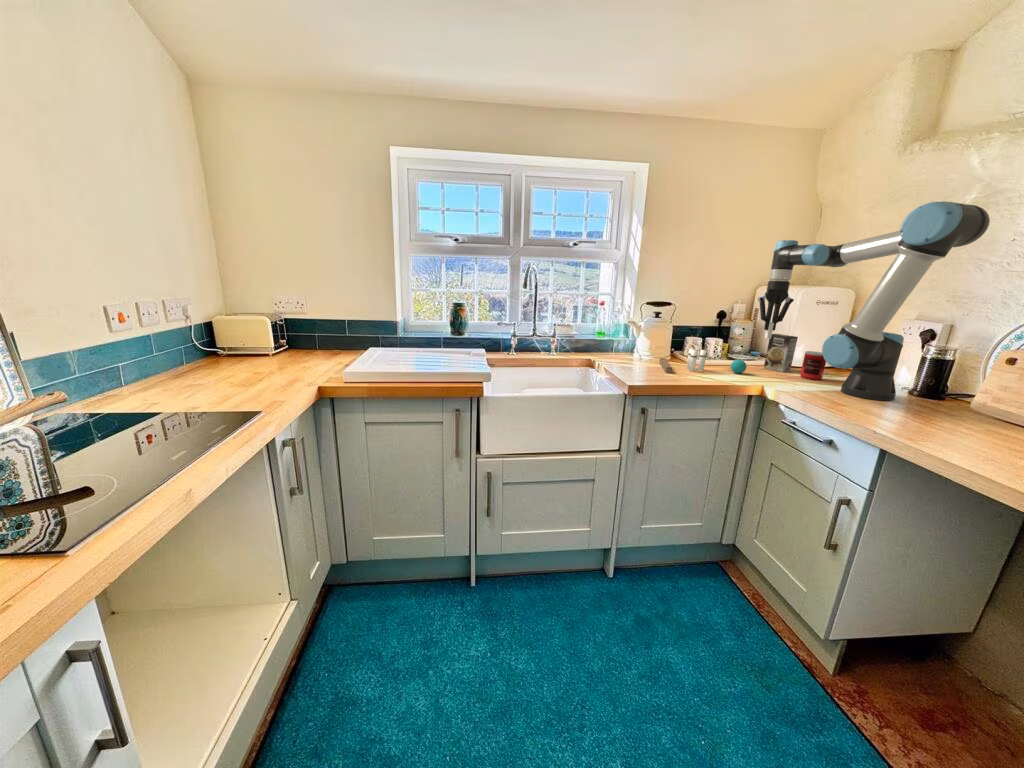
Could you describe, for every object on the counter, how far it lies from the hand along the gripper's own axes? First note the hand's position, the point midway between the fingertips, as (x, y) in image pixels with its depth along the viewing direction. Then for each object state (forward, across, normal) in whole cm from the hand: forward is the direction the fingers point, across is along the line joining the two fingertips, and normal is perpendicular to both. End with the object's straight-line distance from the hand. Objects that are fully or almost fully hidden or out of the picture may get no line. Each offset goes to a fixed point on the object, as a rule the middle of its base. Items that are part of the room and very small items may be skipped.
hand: (767, 338), depth 173 cm
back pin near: (+16, +28, +3) cm, 33 cm away
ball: (+13, +9, 0) cm, 16 cm away
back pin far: (+16, +28, -2) cm, 33 cm away
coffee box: (+16, -12, -15) cm, 25 cm away
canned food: (+16, -20, -1) cm, 25 cm away
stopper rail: (+16, +39, 0) cm, 43 cm away
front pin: (+16, +24, 0) cm, 29 cm away
